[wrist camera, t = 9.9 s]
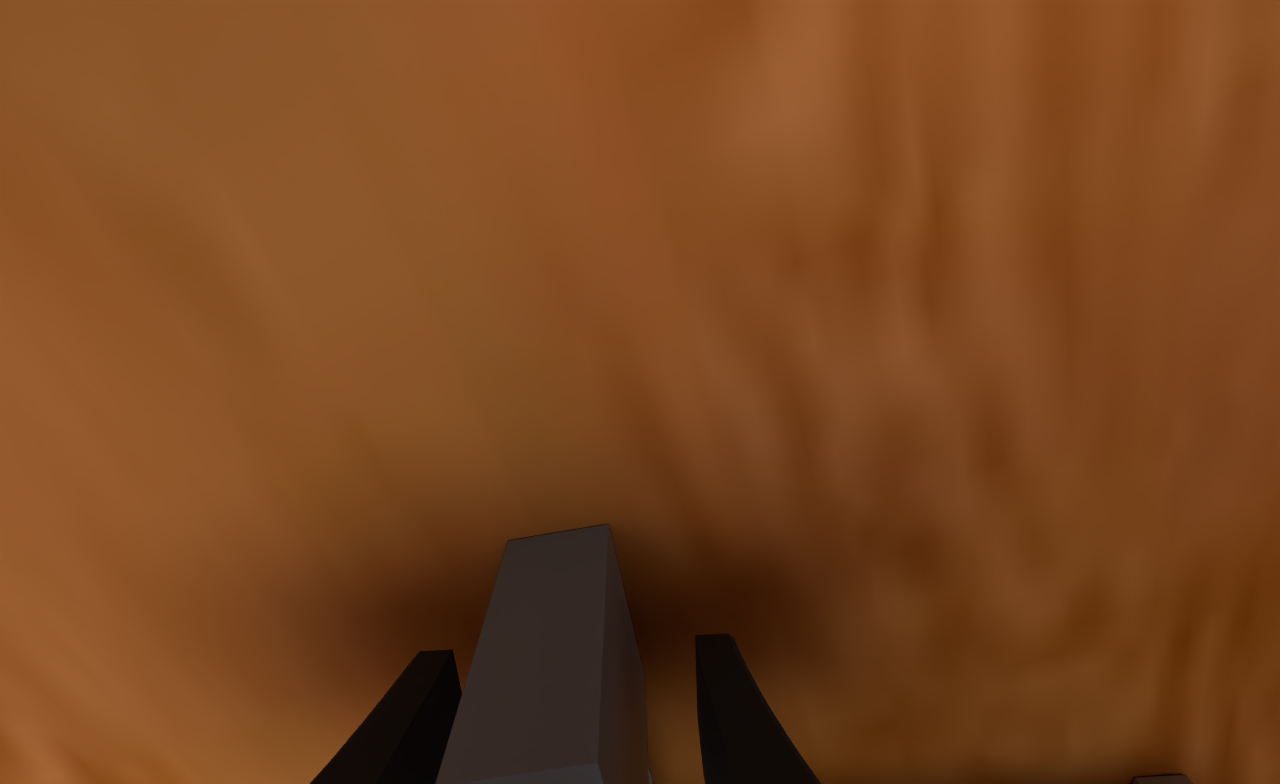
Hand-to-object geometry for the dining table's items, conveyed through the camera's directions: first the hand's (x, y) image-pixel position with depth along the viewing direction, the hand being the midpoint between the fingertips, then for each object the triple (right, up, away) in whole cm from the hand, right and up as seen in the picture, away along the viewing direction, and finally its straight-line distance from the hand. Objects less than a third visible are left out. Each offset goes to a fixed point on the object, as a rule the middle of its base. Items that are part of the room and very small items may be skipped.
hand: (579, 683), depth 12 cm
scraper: (+1, -6, +4) cm, 8 cm away
